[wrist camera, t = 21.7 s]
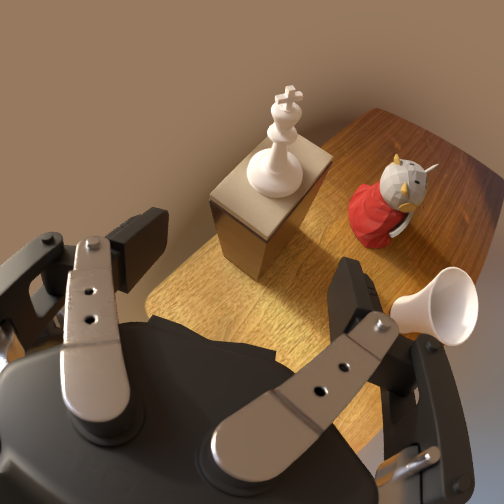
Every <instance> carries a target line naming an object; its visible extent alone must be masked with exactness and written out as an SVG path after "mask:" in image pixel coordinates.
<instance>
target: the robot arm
mask: <svg viewBox="0 0 504 504" xmlns="http://www.w3.org/2000/svg"><path fill="white" fill-rule="evenodd" d="M168 221H169V213H168V211H167V210H163V209H159V208H155V207H152V208H150V209H149V210H147V211H146V212H144V213H143V214H142V215H141V214H140V215H137V216H134V217H131V218H130V219H128V220H127V221H125V222H124V223H123V224H121V225H120V226H119V227H117V228H116V229H114V230H113V231H112V232H110V233H109V234H108V235H106V236H105V237H101V236H91V237H87V238H84V239H82V240H81V241H80V242H78V244H77V246H69V245H64V243H63V237H62V235H61V234H60V233H57V232H48V233H44V234H41V235H40V236H38V237H36V238H35V239H34V240H33V241H31V242H30V243H28V244H27V245H26V246H24V247H23V248H22V249H21V250H19V251H18V252H17V253H15V254H14V255H13V256H12V257H11V258H9V259H8V260H7V261H6V262H5V263H3V264H2V265H1V266H0V504H465V503H466V502H467V501H468V500H469V499H470V498H471V496H472V494H473V491H474V487H475V479H474V469H473V462H472V454H471V448H470V442H469V436H468V431H467V426H466V421H465V417H464V413H463V409H462V405H461V401H460V397H459V394H458V390H457V386H456V383H455V380H454V376H453V373H452V370H451V367H450V364H449V361H448V358H447V356H446V353H445V350H444V347H443V345H442V344H441V343H440V341H439V340H437V339H436V338H435V337H433V336H432V335H430V334H425V333H423V334H420V335H419V336H418V337H417V339H416V340H415V341H412V340H410V339H408V338H406V337H404V336H402V335H400V334H399V327H398V325H397V323H396V322H395V321H394V319H392V318H391V317H390V316H388V315H387V314H385V313H383V310H382V307H381V304H380V301H379V298H378V297H377V296H378V295H377V292H376V290H375V286H374V283H373V281H372V280H371V279H370V278H369V276H368V275H367V274H364V273H363V271H362V268H361V265H360V262H359V261H357V260H354V259H350V258H346V257H342V259H341V260H340V262H339V265H338V267H337V270H336V272H335V274H334V277H333V279H332V281H331V284H330V286H329V289H328V294H327V303H328V314H329V326H330V340H331V344H330V345H329V346H328V347H327V348H325V349H324V350H323V351H322V352H321V353H320V354H319V355H317V356H316V357H315V358H314V359H313V360H311V361H310V362H309V363H308V364H307V365H305V366H304V367H303V368H302V369H300V370H299V371H298V372H297V373H296V374H295V373H294V372H293V371H291V370H290V369H289V368H287V367H286V366H284V365H282V364H281V363H279V362H277V361H275V357H276V351H274V350H270V349H265V348H261V347H257V346H253V345H250V344H246V343H234V342H222V341H212V340H209V339H206V338H205V337H203V336H201V335H199V334H197V333H195V332H194V331H192V330H190V329H188V328H187V327H185V326H183V325H181V324H178V323H175V322H173V321H170V320H167V319H164V318H161V317H158V316H155V315H152V316H151V318H150V319H149V321H148V322H147V323H146V322H127V323H122V324H119V318H118V312H117V304H116V297H115V293H116V292H117V290H119V291H122V292H124V293H127V294H128V293H129V292H130V291H131V289H132V288H133V287H134V286H135V285H136V283H137V282H138V281H139V280H140V279H141V278H142V277H143V275H144V274H145V273H146V272H147V271H148V270H149V269H150V268H151V266H152V265H153V264H154V263H155V262H156V261H157V260H158V259H159V257H160V256H161V255H162V254H163V253H164V251H165V248H166V245H167V236H168ZM40 273H41V277H42V281H43V285H42V286H41V287H40V288H39V289H38V290H37V291H36V293H34V294H33V296H31V297H30V295H29V286H30V283H31V282H32V280H34V279H35V278H36V277H37V276H38V275H39V274H40ZM64 305H65V313H63V312H61V311H60V310H61V309H62V307H63V306H64ZM367 381H368V382H370V383H373V384H375V385H377V386H380V390H381V401H382V414H383V433H384V462H382V463H381V464H380V466H379V467H378V469H377V471H376V475H375V478H374V477H373V476H372V475H371V473H370V472H369V470H368V469H367V468H366V467H365V465H364V464H363V463H362V462H361V460H360V459H359V458H358V456H357V455H356V454H355V452H354V451H353V450H352V448H351V447H350V446H349V444H348V443H347V442H346V440H345V439H344V438H343V436H342V435H341V434H340V432H339V431H338V429H337V428H336V427H335V425H334V424H333V423H332V422H333V421H334V420H335V419H336V418H337V417H338V416H339V414H340V413H341V412H342V411H343V410H344V409H345V408H346V406H347V405H348V404H349V403H350V402H351V400H352V399H353V398H354V397H355V396H356V394H357V393H358V392H359V391H360V389H361V388H362V387H363V386H364V384H365V383H366V382H367ZM417 387H418V390H419V401H418V404H417V405H416V400H415V394H414V390H415V389H416V388H417Z"/></svg>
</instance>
